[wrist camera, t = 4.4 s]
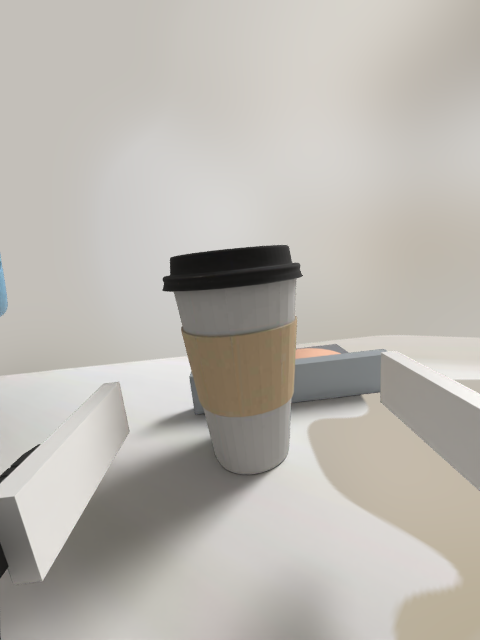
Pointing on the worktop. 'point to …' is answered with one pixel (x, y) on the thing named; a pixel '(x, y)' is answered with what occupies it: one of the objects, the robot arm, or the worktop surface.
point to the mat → (319, 351)
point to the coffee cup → (241, 348)
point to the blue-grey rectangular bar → (329, 377)
